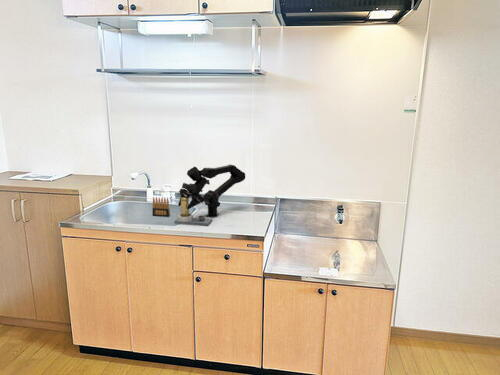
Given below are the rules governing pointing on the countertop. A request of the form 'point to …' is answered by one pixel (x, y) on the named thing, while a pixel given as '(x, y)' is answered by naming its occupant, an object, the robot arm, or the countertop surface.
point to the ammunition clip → (161, 208)
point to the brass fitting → (184, 206)
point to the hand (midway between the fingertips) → (182, 207)
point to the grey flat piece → (193, 220)
